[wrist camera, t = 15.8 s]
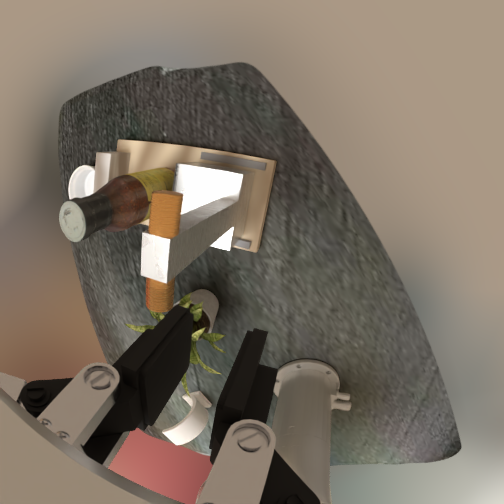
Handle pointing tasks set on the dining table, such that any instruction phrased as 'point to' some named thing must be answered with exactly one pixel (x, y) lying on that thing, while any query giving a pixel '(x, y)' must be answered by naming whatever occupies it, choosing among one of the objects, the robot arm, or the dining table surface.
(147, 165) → the clamp base
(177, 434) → the white curved arc piece
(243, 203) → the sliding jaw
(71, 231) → the sauce bottle
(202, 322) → the house plant
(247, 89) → the dining table surface
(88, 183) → the ramekin
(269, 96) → the dining table surface
